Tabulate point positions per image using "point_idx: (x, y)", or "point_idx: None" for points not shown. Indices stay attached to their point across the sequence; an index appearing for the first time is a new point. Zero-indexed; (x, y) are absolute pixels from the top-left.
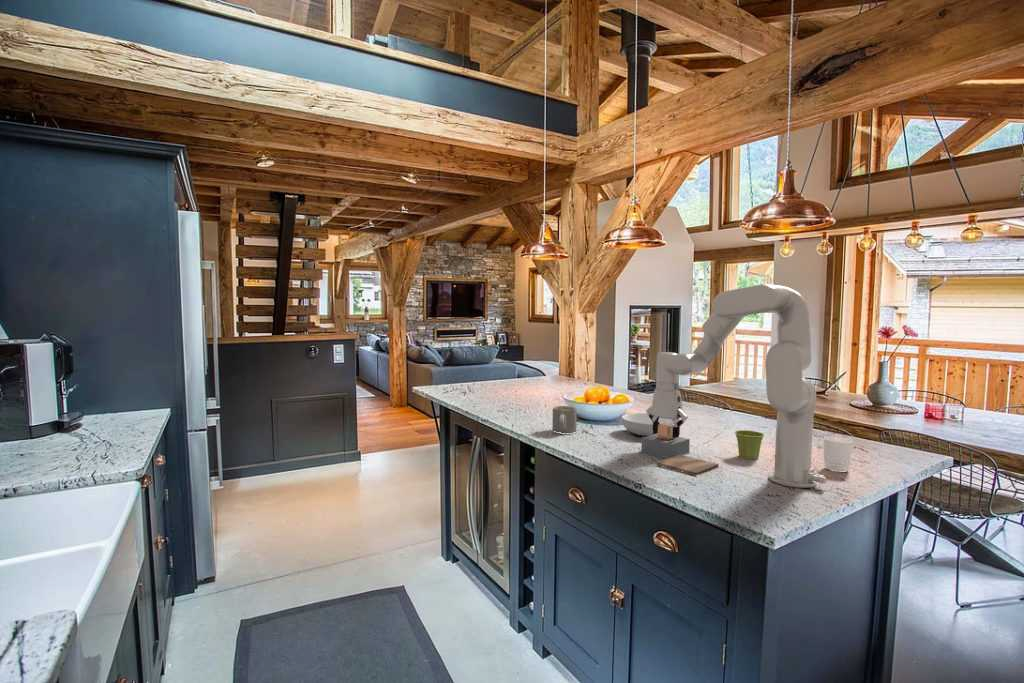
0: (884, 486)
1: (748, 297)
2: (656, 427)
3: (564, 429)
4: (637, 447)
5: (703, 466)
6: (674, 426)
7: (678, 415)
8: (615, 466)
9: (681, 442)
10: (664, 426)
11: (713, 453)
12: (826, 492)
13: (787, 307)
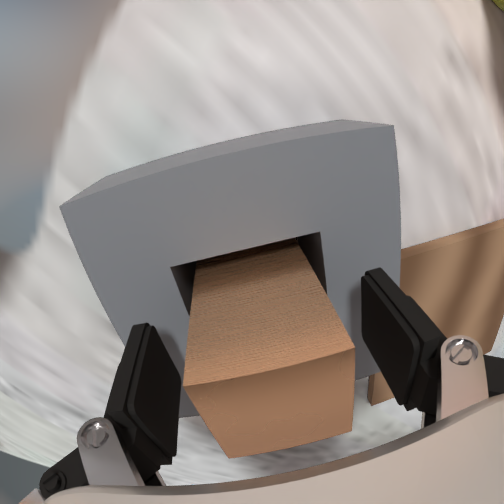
0: None
1: None
2: (166, 404)
3: None
4: (99, 326)
5: (498, 293)
6: (413, 397)
7: (501, 447)
8: (292, 469)
9: (397, 259)
10: (309, 439)
11: (412, 10)
12: None
13: None
